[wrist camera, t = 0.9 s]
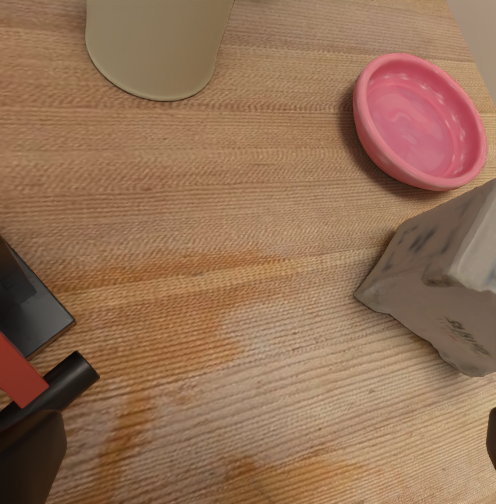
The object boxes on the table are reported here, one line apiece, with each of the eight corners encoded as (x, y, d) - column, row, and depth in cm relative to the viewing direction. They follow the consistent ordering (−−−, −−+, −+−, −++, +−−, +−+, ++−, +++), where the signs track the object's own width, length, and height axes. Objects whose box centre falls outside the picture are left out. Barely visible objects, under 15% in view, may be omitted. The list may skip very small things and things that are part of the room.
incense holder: (343, 309, 28) (463, 264, 18) (391, 226, 31) (511, 153, 22) (451, 398, 28) (623, 398, 19) (486, 305, 32) (644, 267, 22)
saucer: (435, 83, 39) (461, 58, 36) (478, 201, 35) (510, 184, 33) (322, 71, 34) (342, 42, 32) (359, 205, 31) (384, 185, 28)
